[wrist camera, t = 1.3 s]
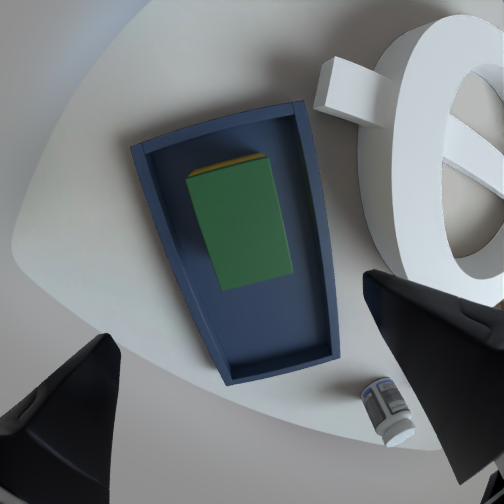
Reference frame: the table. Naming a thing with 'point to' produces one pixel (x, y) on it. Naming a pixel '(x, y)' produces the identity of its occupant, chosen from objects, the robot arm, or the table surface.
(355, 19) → the table surface
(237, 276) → the sponge
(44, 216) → the table surface
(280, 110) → the tray
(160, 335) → the table surface
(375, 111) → the ring with crossbar
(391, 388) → the pill bottle
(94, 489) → the robot arm
